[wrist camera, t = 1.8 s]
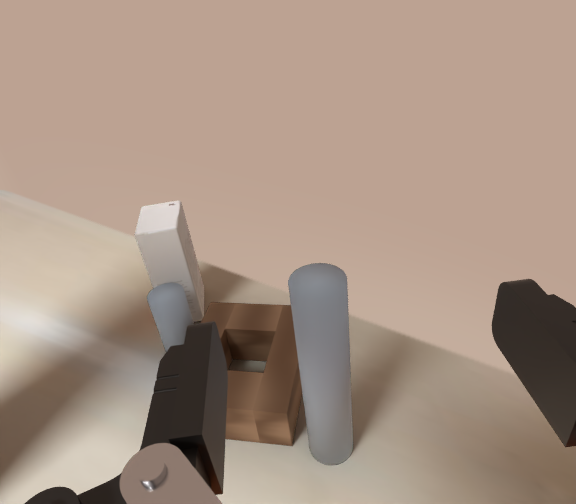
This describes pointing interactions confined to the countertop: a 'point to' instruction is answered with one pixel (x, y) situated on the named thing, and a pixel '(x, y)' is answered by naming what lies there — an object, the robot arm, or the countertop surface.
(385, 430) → the countertop surface
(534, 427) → the countertop surface
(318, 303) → the long pin
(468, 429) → the countertop surface
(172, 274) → the skincare box
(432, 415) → the countertop surface
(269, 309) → the socket block
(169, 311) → the short pin
